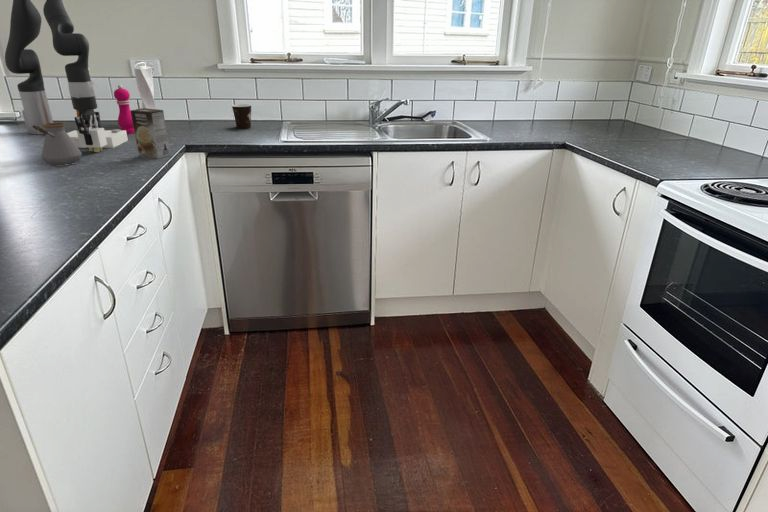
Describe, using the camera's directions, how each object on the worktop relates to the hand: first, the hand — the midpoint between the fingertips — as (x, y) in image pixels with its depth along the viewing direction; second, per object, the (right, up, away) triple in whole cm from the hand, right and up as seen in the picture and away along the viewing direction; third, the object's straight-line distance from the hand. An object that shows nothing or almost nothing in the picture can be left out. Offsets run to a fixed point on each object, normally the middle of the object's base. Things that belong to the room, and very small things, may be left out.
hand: (93, 143), depth 181 cm
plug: (-2, -3, +1) cm, 3 cm away
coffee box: (+24, -6, -4) cm, 25 cm away
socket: (-7, +3, +13) cm, 15 cm away
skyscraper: (-3, +20, +52) cm, 56 cm away
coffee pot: (0, -13, -20) cm, 24 cm away
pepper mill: (-5, +12, +35) cm, 37 cm away
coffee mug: (+40, +18, +49) cm, 66 cm away
